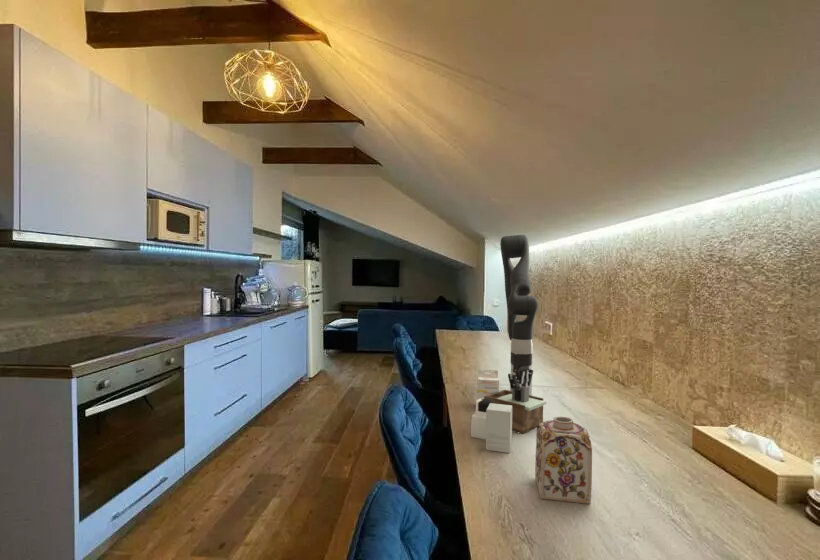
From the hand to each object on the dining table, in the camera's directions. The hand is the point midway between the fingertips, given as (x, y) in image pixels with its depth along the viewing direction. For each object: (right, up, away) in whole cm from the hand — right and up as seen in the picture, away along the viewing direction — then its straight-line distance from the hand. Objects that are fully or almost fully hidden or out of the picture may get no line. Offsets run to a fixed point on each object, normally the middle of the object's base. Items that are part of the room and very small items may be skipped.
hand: (520, 399), depth 156 cm
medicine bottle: (-15, -9, -11) cm, 21 cm away
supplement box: (-12, -10, -21) cm, 26 cm away
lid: (0, -1, 0) cm, 1 cm away
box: (-2, -9, +2) cm, 10 cm away
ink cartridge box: (-8, -9, +22) cm, 25 cm away
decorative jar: (-2, -10, -47) cm, 48 cm away
